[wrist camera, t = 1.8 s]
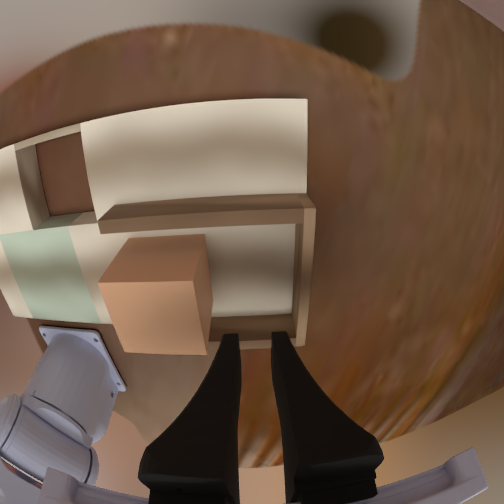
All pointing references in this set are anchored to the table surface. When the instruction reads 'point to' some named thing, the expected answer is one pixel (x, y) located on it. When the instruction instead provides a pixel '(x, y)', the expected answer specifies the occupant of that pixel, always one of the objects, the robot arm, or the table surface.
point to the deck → (154, 189)
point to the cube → (160, 295)
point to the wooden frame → (235, 214)
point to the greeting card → (489, 10)
